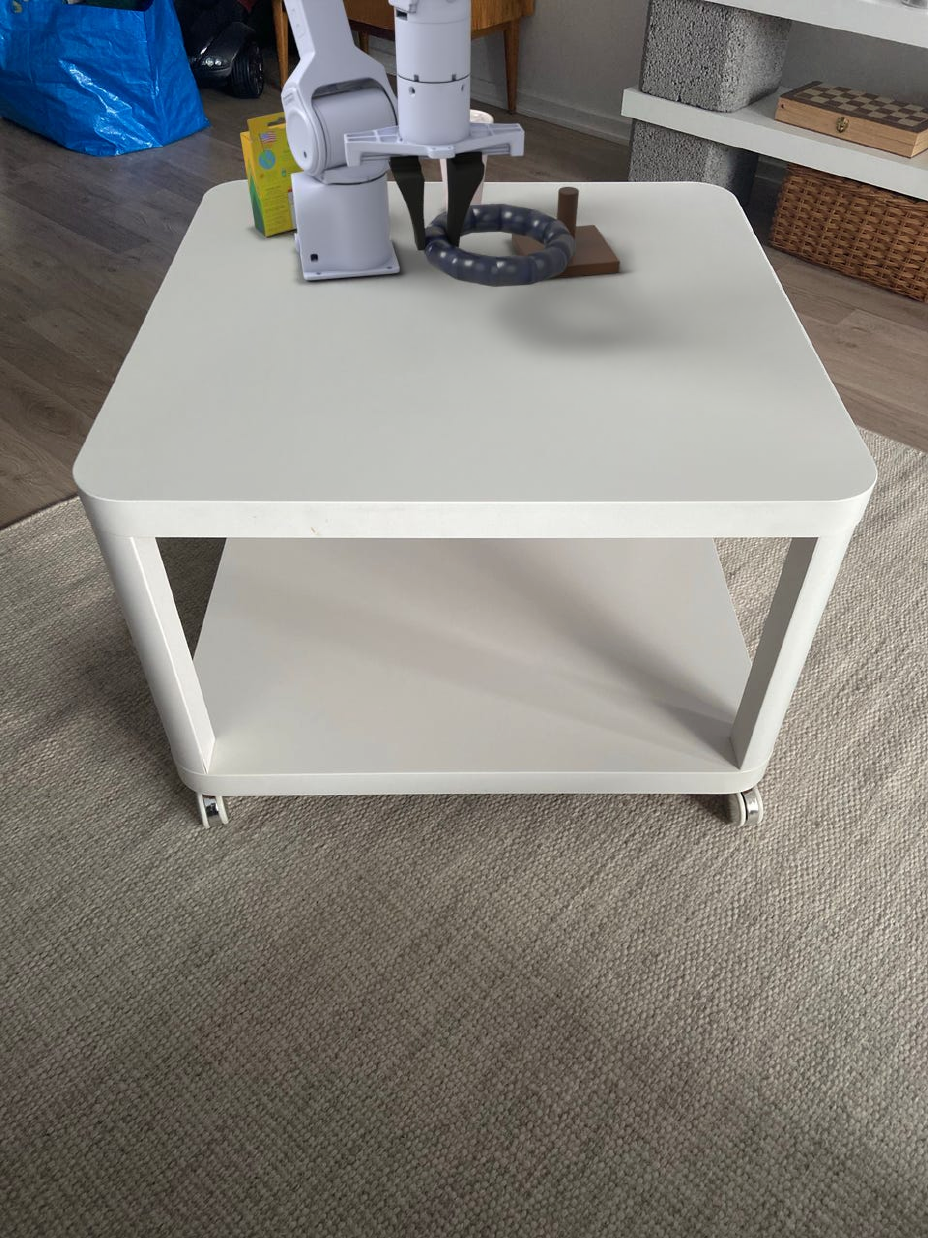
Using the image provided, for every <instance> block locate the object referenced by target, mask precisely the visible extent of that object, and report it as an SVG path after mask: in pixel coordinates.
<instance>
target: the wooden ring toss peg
mask: <svg viewBox="0 0 928 1238" xmlns="http://www.w3.org/2000/svg"><path fill="white" fill-rule="evenodd" d="M579 195H580V190H579V188H577V187H574V186H563V187H560V188H558V191H557V207H556V219H558V220H560V221H561V222H563V223H564V224H565V226H566V227H567V229H568V231H569V232H570V234H571V235H572V237H573V238H574V240H575V243H576V251H575V254H574V256H573V257H572V259H571V260H570V262H569V263H568V265H567V267H566V268H565V270H564V271H563V272H562V273H560V274H559V275H556V276H553V277H551V278H550V279H557V278H558V279H559V278H570V277H581V276H582V277H583V276H593V275H595V276H596V275H606V274H617V273H619V272H620V265H621V261H620V259H619V258H618V256H617V254H615V252H614V251H613V249H612V247H611V246H610V245H609V243H608V242H607V240H606V239H605V238H604V236H603V235H602V233H601V232H600V231H599V229H598V228H597V226H596V225H595V224H588V225H587V224H586V225H577V219H578V208H579ZM510 242H511V244H512V246H513V248H514V249H515V251H516V253H517V256H518V255H528V254H531V253H534V252H536V251H539V250H542V249H545V248H546V246H545V245H544V244H542V243H540V242H538V241H536V240H534V239H532V238H529V237H527V236H521V235H516V234H511V241H510Z"/></svg>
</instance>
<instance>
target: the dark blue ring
mask: <svg viewBox="0 0 928 1238" xmlns="http://www.w3.org/2000/svg"><path fill="white" fill-rule="evenodd" d="M481 233H483V234H484V233H504V234H510V235H512V234H516V235H521V236H527V237H529V238H532V239H534V240H536V241H538V242H540V243H542V244H544V245H545V246H546V248H545V249H542V250H539V251H536V252H534V253H531V254H528V255H518V254H517V255H504V256H503V255H499V256H494V255H489V254H483V253H478V252H472V251H468V250H467V251H466V250H464V249H463V248H461V247H460V246H459V247H457V246H455V245H453V244H451V243H450V241H449V239H448V237H447V211H444V212H442V213H439V214H437V215H436V216H435V217H434V218H433V219H432V220H431V221H430V222H429V223H428V225H427V226H425V234H426V249H425V250H422V251H423V253H424V256H425V259H426V262H427V263H428V264H429V265H430V266H431V267H433V268H434V269H436V270H438V271H440V272H442V273H443V274H445V275H446V276H449V277H450V278H452V279H454V280H455V281H459V282H464V283H469V284H475V285H480V286H486V287H492V288H501V287H502V288H503V287H516V286H517V287H518V286H520V287H521V286H532V285H535V284H538V283H540V282H543V281H545V280H548V279H552V278H551V277H553V276H556V275H559V274H560V273H562V272H563V271H564V270H565V268H566V267H567V265H568V263H569V262H570V260H571V259H572V257H573V256H574V254H575V251H576V243H575V240H574V238H573V237H572V235H571V234H570V232H569V231H568V229H567V227H566V226H565V224H564V223H563V222H561V221H560V220H558V219H557V218H555V217H553V216H551V215H549V214H546V213H545V212H542V211H540V210H538V209H535V208H530V207H524V206H518V205H512V204H506V203H487V204H481V205H470V206H469V208H468V211H467V214H466V217H465V220H464V224H463V228H462V232H461V237H460V238H462V237H465V236H468V235H471V234H481Z"/></svg>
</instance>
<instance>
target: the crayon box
mask: <svg viewBox="0 0 928 1238" xmlns="http://www.w3.org/2000/svg"><path fill="white" fill-rule="evenodd" d="M281 118H283V119H285V120H286V118H285V113H284V111H281V112H277V113H271V114H267V115H262V116H257V117H252V118H248V119H246V123H247V127H248V131H243V132H240V133H239V135H240V142H241V147H242V153H243V159H244V166H245V171H246V178H247V185H248V190H249V197H250V202H251V203H250V204H251V208H252V209H251V210H252V216H253V223H254V227H255V229H256V230H257V231H258V232H259V233H261V234H262V235H263V236H264V237H266V238H269V237H272V236H273V235H277V234H281V233H284V232H290V231H292V230H297V225H296V216H295V208H294V200H293V191H292V182H291V174H293V173H298V172H303V171H304V170H303V169H302V168H300V167H299V165H298V164H297V162H296V161H295V159H294V157H293V155H292V152H291V150H290V147H289V143H288V139H287V132H286V122H284V123H279V124H275V125H271V126H269V125H268V124H270V123H273V122H277V121H278V120H279V119H281Z"/></svg>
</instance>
